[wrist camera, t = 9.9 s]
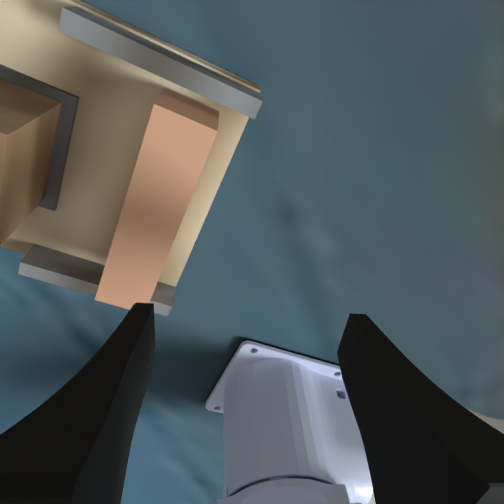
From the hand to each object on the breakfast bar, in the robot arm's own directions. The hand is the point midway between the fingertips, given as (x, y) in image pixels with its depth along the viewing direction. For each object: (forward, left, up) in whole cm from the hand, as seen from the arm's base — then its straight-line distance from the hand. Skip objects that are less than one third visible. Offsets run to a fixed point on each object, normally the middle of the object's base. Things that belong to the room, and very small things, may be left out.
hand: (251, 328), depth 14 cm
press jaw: (+5, 0, -8) cm, 9 cm away
